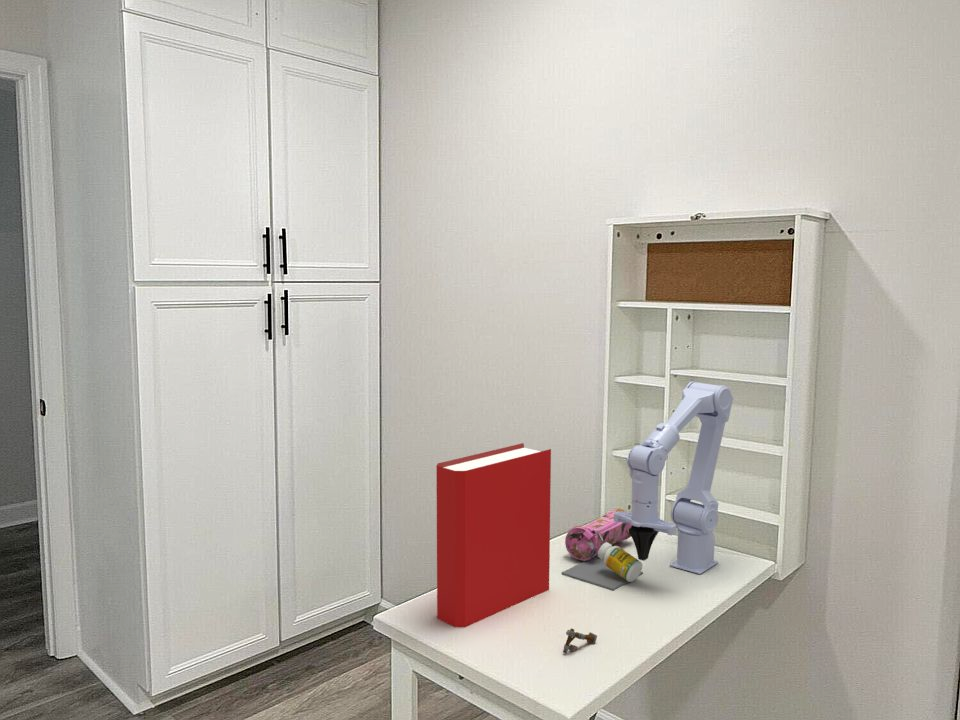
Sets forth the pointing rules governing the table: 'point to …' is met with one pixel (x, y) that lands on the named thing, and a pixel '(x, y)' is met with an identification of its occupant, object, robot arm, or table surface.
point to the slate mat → (596, 574)
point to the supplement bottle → (620, 561)
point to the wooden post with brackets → (572, 635)
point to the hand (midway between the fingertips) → (643, 558)
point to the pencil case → (596, 535)
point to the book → (492, 532)
